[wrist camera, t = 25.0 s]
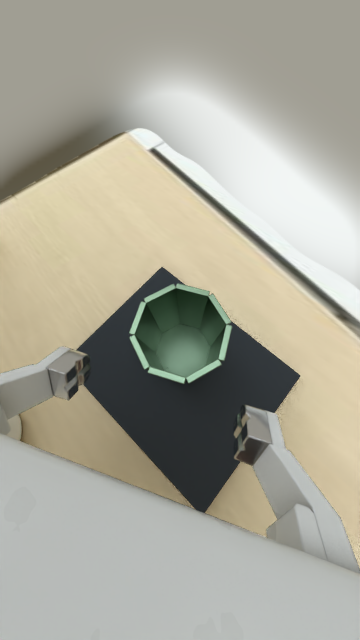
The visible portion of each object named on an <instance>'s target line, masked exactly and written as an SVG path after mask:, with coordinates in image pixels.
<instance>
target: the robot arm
mask: <svg viewBox="0 0 360 640" xmlns="http://www.w3.org/2000/svg"><path fill="white" fill-rule="evenodd" d="M90 361H91V359H90V355H88V354H85V353H82V352H79V351H76V350H74V349H70V348H67V347H64V346H62V347H59V348H58V349H57V350H55V351H54V352H52V353H51V354H50V355H48V356H47V357H46V358H44V359H43V360H42V361H40V362H39V363H37V364H36V365H34V364H32V365H28V366H25V367H21V368H18V369H14V370H11V371H7V372H4V373H0V640H360V569H359V566H358V563H357V561H356V558H355V555H354V553H353V550H352V547H351V544H350V542H349V539H348V536H347V534H346V531H345V528H344V526H343V523H342V520H341V518H340V517H339V515H338V514H337V513H336V511H335V510H334V509H333V507H332V506H331V505H330V503H329V502H328V501H327V499H326V498H325V497H324V495H323V494H322V493H321V491H320V490H319V489H318V487H317V486H316V485H315V484H314V482H313V481H312V480H311V478H310V477H309V476H308V474H307V473H306V472H305V470H304V469H303V468H302V466H301V465H300V464H299V462H298V461H297V460H296V458H295V457H294V456H293V454H292V453H291V452H290V451H289V450H287V449H286V447H285V443H284V439H283V435H282V431H281V427H280V423H279V419H278V416H277V414H275V413H272V412H269V411H266V410H263V409H259V408H256V407H253V406H250V405H246V404H243V405H242V407H241V408H240V411H241V413H239V414H237V416H236V418H235V422H234V428H233V435H234V436H235V438H236V440H235V442H234V459H236V460H238V461H241V462H244V463H246V464H249V465H251V466H253V469H254V472H255V474H256V476H257V478H258V480H259V482H260V484H261V486H262V488H263V490H264V492H265V495H266V497H267V499H268V501H269V503H270V505H271V507H272V509H273V511H274V513H275V515H276V518H277V520H276V521H275V522H274V523H273V524H272V525H270V526H269V527H268V528H267V529H266V533H267V537H264V536H262V535H259V534H257V533H254V532H251V531H249V530H246V529H244V528H241V527H239V526H236V525H234V524H231V523H228V522H226V521H223V520H221V519H218V518H216V517H213V516H211V515H208V514H205V513H203V512H200V511H198V510H195V509H193V508H190V507H188V506H185V505H182V504H180V503H177V502H175V501H172V500H170V499H167V498H165V497H162V496H159V495H157V494H154V493H152V492H149V491H147V490H144V489H142V488H139V487H136V486H134V485H131V484H129V483H126V482H124V481H121V480H118V479H116V478H113V477H111V476H108V475H106V474H103V473H101V472H98V471H95V470H93V469H90V468H88V467H85V466H83V465H80V464H78V463H75V462H72V461H70V460H67V459H65V458H62V457H60V456H57V455H54V454H52V453H49V452H47V451H44V450H42V449H39V448H37V447H34V446H31V445H29V444H26V443H24V442H21V441H19V440H16V439H13V438H11V437H8V436H6V435H7V434H8V433H9V432H10V431H11V426H10V424H9V422H8V419H10V418H12V417H14V416H16V415H18V414H20V413H22V412H24V411H26V410H28V409H30V408H32V407H34V406H36V405H38V404H40V403H42V402H44V401H46V400H48V399H50V398H52V397H53V396H56V397H59V398H62V399H65V400H68V401H69V400H70V399H71V398H72V396H73V395H74V394H75V393H76V392H77V391H78V386H80V385H82V384H84V383H85V382H86V381H87V380H88V378H89V376H90V373H91V366H90V365H89V362H90Z"/></svg>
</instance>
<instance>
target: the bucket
mask: <svg viewBox="0 0 360 640" xmlns="http://www.w3.org/2000/svg"><path fill="white" fill-rule="evenodd" d="M209 293H210V292H209V291H206V290H202V289H198V288H194V287H190V286H186V285H182V284H178V283H177V285H176V287H175V285H174V284H172V285H170V286H168V287H166V288H164V289H162V290H160V291H158V292H156V293H154V294H152V295H150V296H148V297H146V298H144V301H145V302H141V303H140V305H139V308H138V311H137V313H136V316H135V319H134V321H133V324H132V327H131V329H130V332H129V334H130V335H132V336H131V337H129V338H130V341H131V343H132V345H133V347H134V349H135V351H136V353H137V355H138V358H139V360H140V362H141V364H142V366H143V368H144V370H148V373H150V374H153V375H156V376H159V377H162V378H166V379H169V380H172V381H175V382H178V383H182V384H184V383H185V381H186V380H187V382H188V383H191V382H193V381H194V380H196V379H198V378H199V377H201V376H203V375H205V374H206V373H208V372H210V371H212V370H213V369H215V368H217V367H219V366H220V365H222V364H221V362H223V361H225V356H226V352H227V347H228V343H229V338H230V334H231V330H232V326H231V325H229V324H230V323H231V321H230V319H229V318H228V316H227V314H226V313H225V311H224V310H223V308H222V307H221V305H220V304H219V302H218V301H217V299H216V298H215V296H214V295H213V294H211V295H209Z"/></svg>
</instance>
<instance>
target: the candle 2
mask: <svg viewBox="0 0 360 640" xmlns="http://www.w3.org/2000/svg"><path fill="white" fill-rule="evenodd" d="M8 422H9V424H10V426H11V431H10V432H9V433H8V434H7V435H6V436H8V437H11V438H13V439H16V440H19V441H20V438H21V432H22V426H21V420H20V417H19V414H18V415H16V416H14V417H12V418H10V419H8Z"/></svg>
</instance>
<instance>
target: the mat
mask: <svg viewBox="0 0 360 640" xmlns="http://www.w3.org/2000/svg"><path fill="white" fill-rule="evenodd" d="M177 283H178V284H182V285H185V284H183V283H182V282H181V281H180V280H178V279H177V278H176V277H174V276H173V275H172V274H171V273H169V272H168V271H167V270H166V269H164V268H163V267H161V268H160V269H159V270H158V271H157V272H156V273H155V274H154V275H153V276H152V277H151V278H150V279H149V280H148V281H147V282H146V283H145V284H144V285H143V286H142V287H141V288H140V289H139V290H138V291H137V292H136V293H135V294H134V295H132V296H131V297H130V298H129V299H128V300H127V301H126V302H125V303H124V304H123V305H122V306H121V307H120V308H119V309H118V310H117V311H116V312H115V313H114V314H113V315H112V316H111V317H110V318H109V319H108V320H107V321H106V322H105V323H104V324H103V325H102V326H101V327H99V328H98V329H97V330H96V331H95V332H94V333H93V334H92V335H91V336H90V337H89V338H88V339H87V340H86V341H85V342H84V343H83V344H82V345H81V346H80V347H79V348H78V349H77V350H76V351H79V352H82V353H85V354H88V355H90V359H91V361H90V362H89V365H90V366H91V373H90V376H89V378H88V380H87V381H86V382H85V383H84V384H83V385H84V386H85V387H86V388H87V389H88V390H89V391H90V393H91V394H92V395H93V396H94V397H95V398H96V399H97V400H98V401H99V403H100V404H101V405H102V406H103V407H104V408H105V409H106V410H107V411H108V413H109V414H110V415H111V416H112V417H113V418H114V419H115V420H116V421H117V423H118V424H119V425H120V426H121V427H122V428H123V429H124V430H125V431H126V432H127V434H128V435H129V436H130V437H131V438H132V439H133V440H134V441H135V442H136V444H137V445H138V446H139V447H140V448H141V449H142V450H143V451H144V452H145V454H146V455H147V456H148V457H149V458H150V459H151V460H152V461H153V462H154V463H155V465H156V466H157V467H158V468H159V469H160V470H161V471H162V472H163V473H164V475H165V476H166V477H167V478H168V479H169V480H170V481H171V482H172V483H173V485H174V486H175V487H176V488H177V489H178V490H179V491H180V492H181V493H182V495H183V496H184V497H185V498H186V499H187V500H188V501H189V502H190V503H191V504H192V506H193V507H194V508H195V509H196V510H198V511H200V512H203V513H205V511H206V510H207V508H208V507H209V506H210V504H211V503H212V501H213V500H214V498H215V497H216V496H217V494H218V493H219V491H220V490H221V489H222V487H223V486H224V484H225V483H226V481H227V480H228V479H229V477H230V476H231V474H232V473H233V471H234V470H235V469H236V467H237V466H238V464H239V463H240V461H238V460H236V459H234V442H235V440H236V438H235V436H234V435H233V428H234V422H235V418H236V416H237V414H239V413H241V411H240V408H241V407H242V405H243V404H246V405H250V406H253V407H256V408H259V409H263V410H266V411H269V412H272V413H275V411H276V410H277V409H278V407H279V406H280V404H281V403H282V401H283V400H284V399H285V397H286V396H287V394H288V393H289V391H290V390H291V389H292V387H293V386H294V384H295V383H296V381H297V380H298V379H299V377H300V375H299V374H298V373H296V372H295V371H294V370H293V369H291V368H290V367H289V366H287V365H286V364H285V363H284V362H282V361H281V360H280V359H279V358H277V357H276V356H275V355H274V354H272V353H271V352H270V351H268V350H267V349H266V348H265V347H263V346H262V345H261V344H260V343H258V342H257V341H256V340H254V339H253V338H252V337H251V336H249V335H248V334H247V333H246V332H244V331H243V330H242V329H240V328H239V327H238V326H237V325H235V324H234V323H233V322H232V321H231V323H230V324H229V325H231V326H232V330H231V334H230V338H229V343H228V347H227V352H226V356H225V361H223V362H221V364H222V365H220V366H219V367H217V368H215V369H213V370H212V371H210V372H208V373H206V374H205V375H203V376H201V377H199V378H198V379H196V380H194V381H193V382H191V383H188V382H187V380H186V381H185V383H184V384H182V383H178V382H175V381H172V380H169V379H166V378H162V377H159V376H156V375H153V374H150V373H148V370H144V368H143V366H142V364H141V362H140V360H139V358H138V355H137V353H136V351H135V349H134V347H133V345H132V343H131V341H130V338H129V337H131V336H132V335H130V334H129V332H130V329H131V327H132V324H133V321H134V319H135V316H136V313H137V311H138V308H139V305H140V303H141V302H145V301H144V298H146V297H148V296H150V295H152V294H154V293H156V292H158V291H160V290H162V289H164V288H166V287H168V286H170V285H172V284H174V285H175V287H176V285H177Z"/></svg>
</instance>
